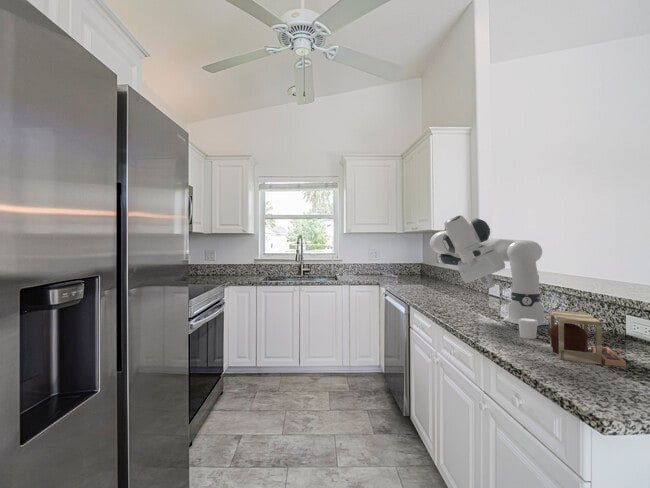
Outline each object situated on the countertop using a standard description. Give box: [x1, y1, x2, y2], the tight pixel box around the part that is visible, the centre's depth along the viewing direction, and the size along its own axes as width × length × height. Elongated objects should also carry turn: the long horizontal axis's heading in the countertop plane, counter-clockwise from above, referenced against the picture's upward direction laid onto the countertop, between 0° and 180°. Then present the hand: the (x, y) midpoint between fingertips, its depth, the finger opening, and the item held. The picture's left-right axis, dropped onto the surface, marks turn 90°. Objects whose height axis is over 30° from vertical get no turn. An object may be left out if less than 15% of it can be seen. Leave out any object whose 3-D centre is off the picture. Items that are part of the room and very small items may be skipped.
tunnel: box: [549, 309, 603, 365], centre depth 117 cm, size 16×11×13 cm
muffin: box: [547, 323, 589, 356], centre depth 119 cm, size 12×11×10 cm
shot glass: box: [518, 318, 538, 340], centre depth 139 cm, size 7×7×7 cm
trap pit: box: [590, 345, 627, 368], centre depth 114 cm, size 16×5×2 cm, turn 156°
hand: (490, 287), depth 130 cm, fingers closed
